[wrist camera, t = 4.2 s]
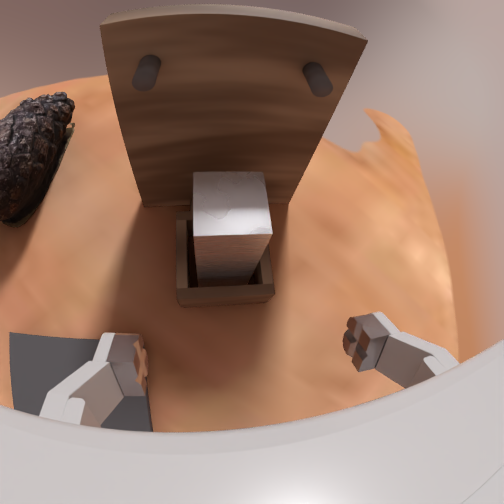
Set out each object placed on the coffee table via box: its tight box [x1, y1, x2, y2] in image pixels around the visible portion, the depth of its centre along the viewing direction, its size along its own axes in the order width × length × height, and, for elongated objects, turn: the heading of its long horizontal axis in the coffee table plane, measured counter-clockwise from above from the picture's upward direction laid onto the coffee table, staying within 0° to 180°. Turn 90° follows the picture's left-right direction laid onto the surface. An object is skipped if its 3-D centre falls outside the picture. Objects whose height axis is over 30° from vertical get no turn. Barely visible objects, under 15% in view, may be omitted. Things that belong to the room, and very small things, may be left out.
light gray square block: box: [193, 172, 273, 288], centre depth 19 cm, size 4×4×10 cm
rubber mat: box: [10, 332, 153, 432], centre depth 16 cm, size 14×14×1 cm
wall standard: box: [100, 4, 368, 307], centre depth 16 cm, size 12×14×18 cm
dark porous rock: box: [0, 92, 75, 227], centre depth 20 cm, size 10×18×10 cm, turn 179°
